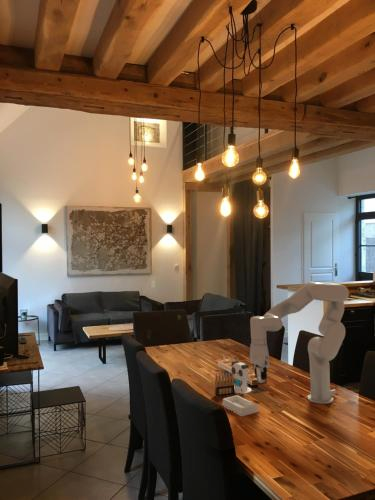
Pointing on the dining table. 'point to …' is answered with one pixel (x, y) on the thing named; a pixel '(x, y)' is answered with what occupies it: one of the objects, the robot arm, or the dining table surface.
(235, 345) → the dining table surface
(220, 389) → the ammunition clip
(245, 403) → the trough
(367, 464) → the dining table surface
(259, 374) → the cylinder
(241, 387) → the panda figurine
